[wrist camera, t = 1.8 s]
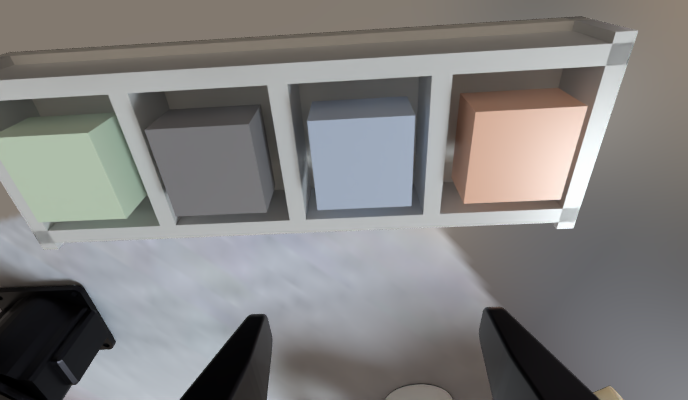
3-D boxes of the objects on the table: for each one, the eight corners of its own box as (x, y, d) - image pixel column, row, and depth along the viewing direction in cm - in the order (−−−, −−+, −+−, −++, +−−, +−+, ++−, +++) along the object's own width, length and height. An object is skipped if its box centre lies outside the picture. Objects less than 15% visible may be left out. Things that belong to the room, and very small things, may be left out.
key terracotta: (451, 177, 19) (463, 203, 17) (460, 93, 17) (475, 112, 15) (537, 173, 19) (560, 199, 17) (558, 87, 16) (587, 106, 14)
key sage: (70, 195, 20) (38, 222, 18) (29, 117, 17) (-13, 138, 15) (149, 191, 19) (126, 218, 17) (118, 112, 17) (88, 132, 15)
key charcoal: (193, 189, 19) (175, 216, 17) (168, 109, 17) (144, 130, 15) (275, 185, 19) (266, 212, 17) (260, 104, 17) (248, 124, 15)
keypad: (87, 207, 23) (43, 250, 20) (9, 52, 18) (-67, 73, 15) (538, 186, 22) (573, 228, 19) (581, 16, 17) (638, 30, 14)
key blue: (320, 183, 19) (317, 210, 17) (311, 101, 17) (307, 121, 15) (404, 179, 19) (411, 206, 17) (407, 96, 17) (415, 115, 15)
